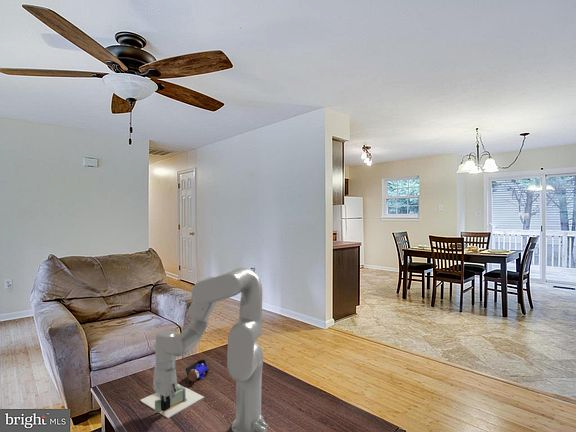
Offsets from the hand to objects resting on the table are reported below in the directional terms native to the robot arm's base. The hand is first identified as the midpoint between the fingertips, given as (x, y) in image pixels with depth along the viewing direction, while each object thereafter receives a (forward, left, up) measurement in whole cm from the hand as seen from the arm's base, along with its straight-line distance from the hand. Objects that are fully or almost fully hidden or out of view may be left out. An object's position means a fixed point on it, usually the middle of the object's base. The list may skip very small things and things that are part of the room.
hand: (165, 409), depth 131 cm
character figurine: (+13, -27, -2) cm, 30 cm away
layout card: (+7, -8, -2) cm, 11 cm away
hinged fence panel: (+2, -4, -1) cm, 5 cm away
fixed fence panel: (+9, -10, -2) cm, 14 cm away
